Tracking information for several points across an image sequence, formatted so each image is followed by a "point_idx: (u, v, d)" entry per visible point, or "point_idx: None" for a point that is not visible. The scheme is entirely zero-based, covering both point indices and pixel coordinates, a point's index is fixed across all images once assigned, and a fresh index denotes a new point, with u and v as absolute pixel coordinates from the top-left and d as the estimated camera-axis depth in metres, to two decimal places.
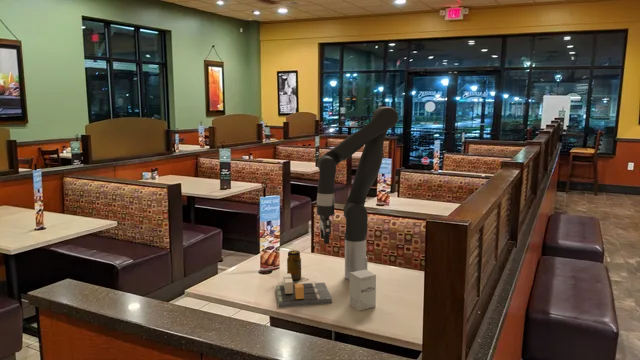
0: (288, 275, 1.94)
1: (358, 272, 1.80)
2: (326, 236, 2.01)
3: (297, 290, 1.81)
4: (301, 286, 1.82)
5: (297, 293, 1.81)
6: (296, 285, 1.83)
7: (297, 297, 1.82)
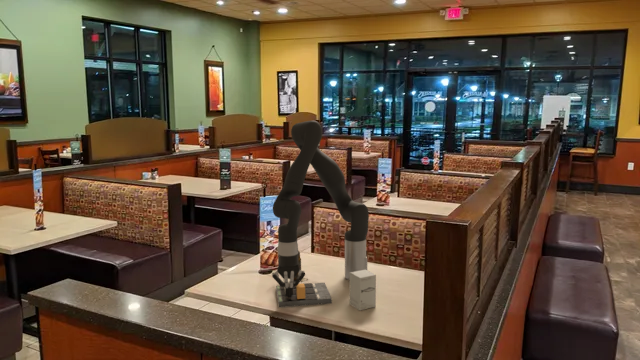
0: None
1: (358, 272, 1.80)
2: None
3: (298, 290, 1.81)
4: (302, 286, 1.82)
5: (298, 293, 1.82)
6: (297, 285, 1.83)
7: (298, 297, 1.82)
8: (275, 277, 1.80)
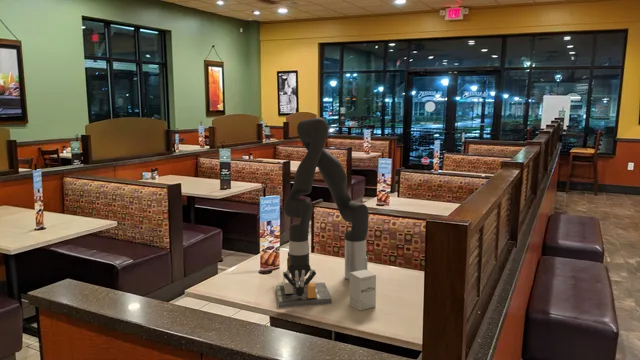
0: None
1: (358, 272, 1.80)
2: None
3: (309, 289, 1.82)
4: (313, 285, 1.83)
5: (309, 292, 1.82)
6: (308, 284, 1.84)
7: (309, 296, 1.82)
8: (286, 276, 1.81)
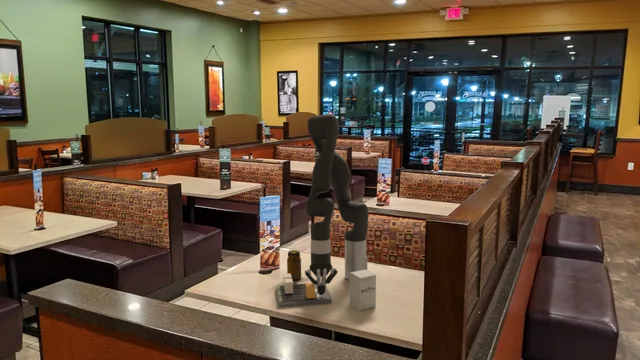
0: (288, 275, 1.94)
1: (358, 272, 1.80)
2: None
3: (308, 289, 1.82)
4: (312, 285, 1.83)
5: (308, 292, 1.82)
6: (307, 284, 1.84)
7: (308, 296, 1.82)
8: (308, 275, 1.82)
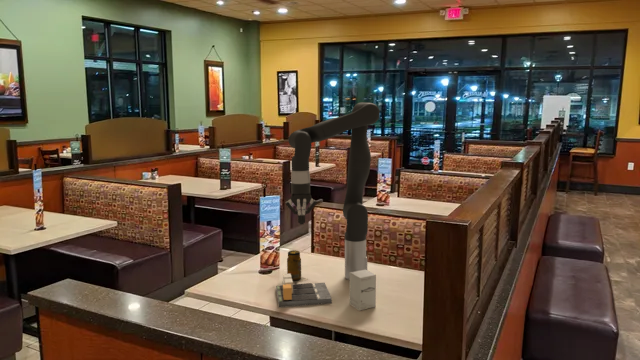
0: (288, 275, 1.94)
1: (358, 272, 1.80)
2: None
3: (285, 291, 1.81)
4: (289, 287, 1.82)
5: (285, 294, 1.81)
6: (284, 286, 1.83)
7: (285, 298, 1.81)
8: (288, 205, 1.93)
